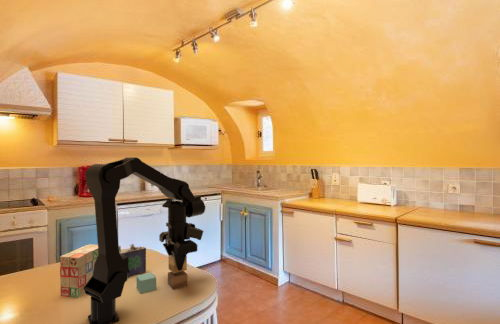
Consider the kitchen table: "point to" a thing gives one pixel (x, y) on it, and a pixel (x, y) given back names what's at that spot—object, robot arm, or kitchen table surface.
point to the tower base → (146, 282)
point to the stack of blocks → (77, 270)
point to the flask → (135, 260)
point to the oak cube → (173, 265)
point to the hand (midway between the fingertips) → (177, 267)
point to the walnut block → (177, 279)
